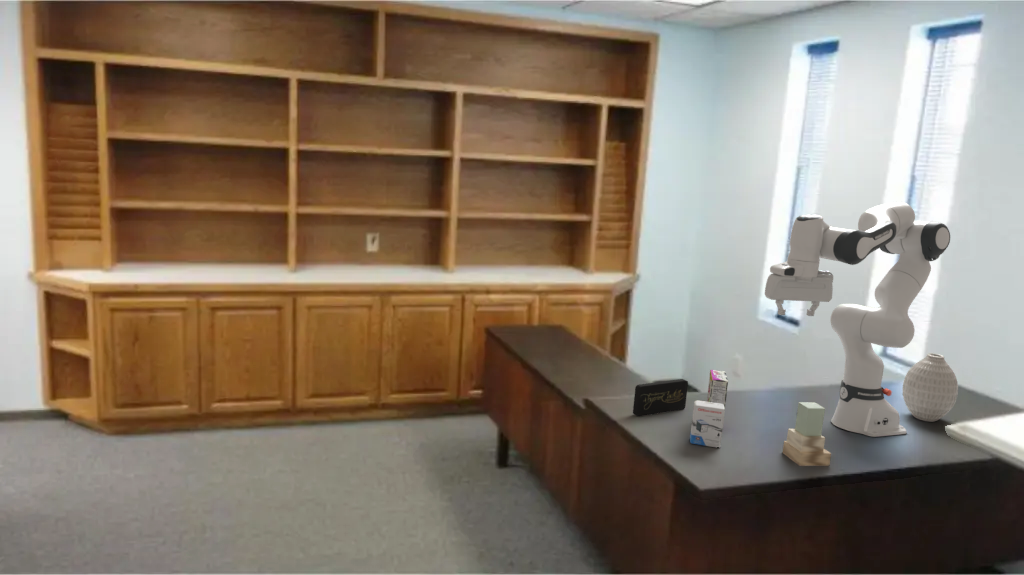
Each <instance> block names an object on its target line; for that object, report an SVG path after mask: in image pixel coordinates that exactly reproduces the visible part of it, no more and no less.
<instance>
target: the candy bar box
mask: <svg viewBox="0 0 1024 575" xmlns="http://www.w3.org/2000/svg"><path fill="white" fill-rule="evenodd" d="M709 370H710V371H709V379H708V388H707V397H706V402H713V403H720V404H723V405H724V406H725V407H726V402H727V393H728V385H729V379H728V376H727V372H726V371H725V370H718V369H709Z"/></svg>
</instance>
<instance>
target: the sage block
mask: <svg viewBox="0 0 1024 575" xmlns="http://www.w3.org/2000/svg"><path fill="white" fill-rule="evenodd" d="M825 411H826V408H825V407H824V406H822V405H820V404H819V403H816V402H814V401H813V402H810V401H809V402H807V401H806V402H805V401H804V402H803V401H800V402H799V401H798V402H797V412H796V419H795V427H794V429H795V430H797V431H798V432H799V433H801V434H802V435H804V436H821V435H822V433H823V426H824V425H823V424H824V419H825Z"/></svg>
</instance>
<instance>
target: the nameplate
mask: <svg viewBox="0 0 1024 575" xmlns="http://www.w3.org/2000/svg"><path fill="white" fill-rule="evenodd" d="M688 386H689V381H688V380H687V379H683V378H679V379H672V380H664V381H656V382H649V383H640V384H637V385H635V387H634V395H633V397H634V400H633V406H632V408H633V410H632V414H633V415H634V416H635V417H646V416H650V415H651V414H652V415H656V414H657V413H658V414H662V413H669V412H676V411H681V410H685V408H686V404H687V396H688V395H687V394H688V388H689V387H688ZM658 414H657V415H658Z"/></svg>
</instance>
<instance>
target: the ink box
mask: <svg viewBox="0 0 1024 575" xmlns="http://www.w3.org/2000/svg"><path fill="white" fill-rule="evenodd" d="M725 412H726V405H725V406H724V405H723V404H720V403H713V402H707V400H705V401H704V400H699V399H698V400H694V402H693V411H692V417H691V420H692V421H691V427H690V433H689V443H690V444H692V445H699V446H705V447H713V448H717V447H719V448H718V449H720V448H721V445H722V444H721V443H722V437H723V430H724V420H725Z"/></svg>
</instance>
